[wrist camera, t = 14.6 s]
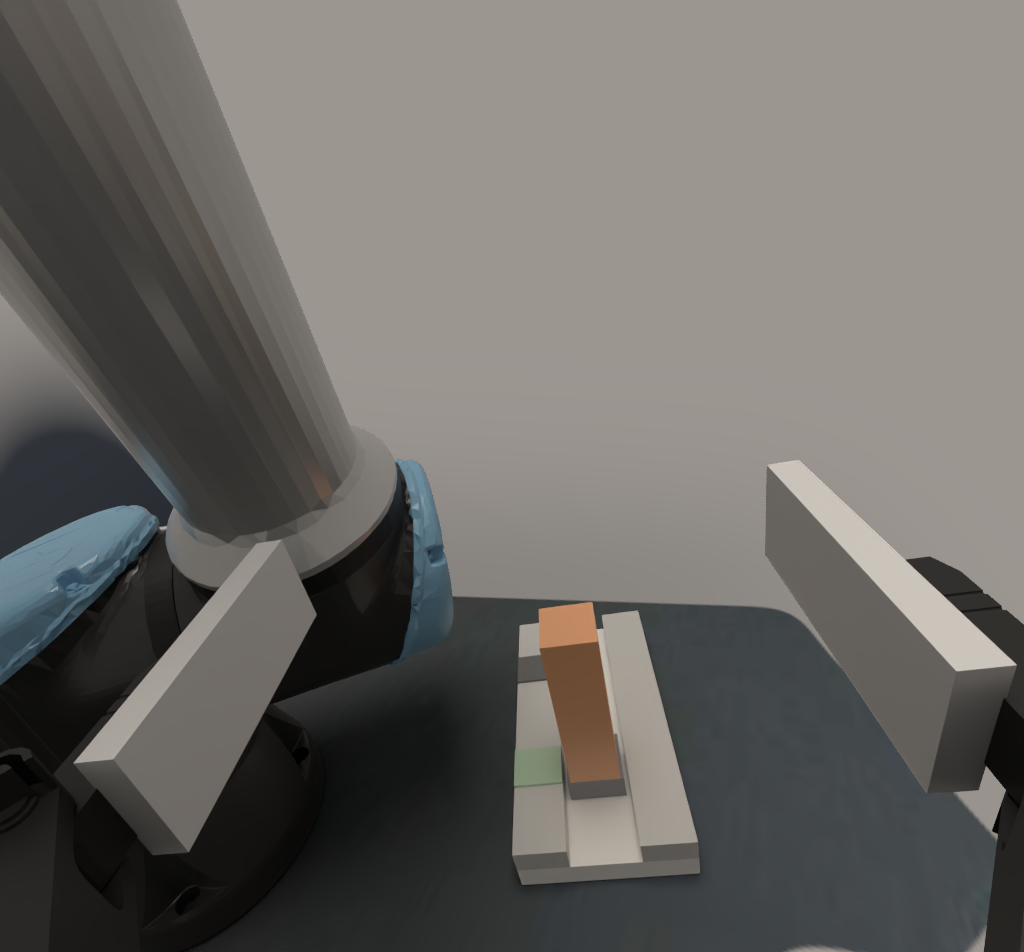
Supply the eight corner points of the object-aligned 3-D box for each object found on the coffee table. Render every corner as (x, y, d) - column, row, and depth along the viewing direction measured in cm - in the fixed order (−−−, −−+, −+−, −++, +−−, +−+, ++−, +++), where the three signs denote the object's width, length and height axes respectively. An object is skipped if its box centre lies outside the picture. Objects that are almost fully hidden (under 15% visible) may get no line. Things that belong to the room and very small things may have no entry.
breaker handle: (626, 794, 32) (601, 641, 27) (571, 799, 32) (535, 648, 27) (619, 749, 35) (595, 601, 29) (568, 754, 35) (535, 609, 30)
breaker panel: (700, 873, 29) (697, 840, 28) (522, 885, 30) (511, 853, 29) (640, 637, 45) (637, 608, 44) (526, 651, 46) (519, 623, 45)
